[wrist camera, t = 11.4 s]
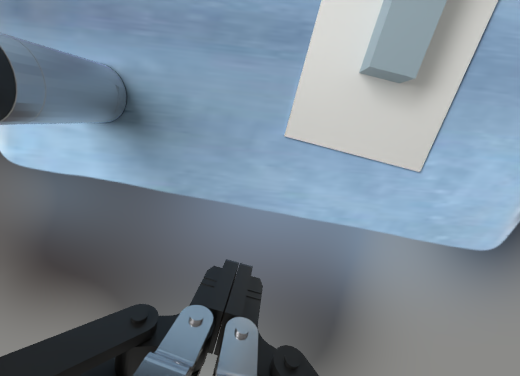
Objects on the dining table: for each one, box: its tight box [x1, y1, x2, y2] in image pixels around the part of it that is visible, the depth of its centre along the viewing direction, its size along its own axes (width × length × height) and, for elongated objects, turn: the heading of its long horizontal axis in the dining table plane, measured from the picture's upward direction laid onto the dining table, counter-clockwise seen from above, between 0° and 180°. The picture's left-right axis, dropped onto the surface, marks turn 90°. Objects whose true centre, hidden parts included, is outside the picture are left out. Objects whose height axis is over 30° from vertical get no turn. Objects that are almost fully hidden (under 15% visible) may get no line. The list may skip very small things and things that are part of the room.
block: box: [359, 0, 447, 83], centre depth 31 cm, size 6×4×14 cm
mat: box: [284, 0, 498, 172], centre depth 35 cm, size 22×26×1 cm
